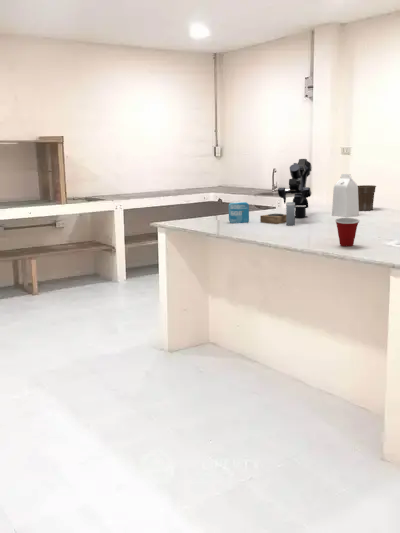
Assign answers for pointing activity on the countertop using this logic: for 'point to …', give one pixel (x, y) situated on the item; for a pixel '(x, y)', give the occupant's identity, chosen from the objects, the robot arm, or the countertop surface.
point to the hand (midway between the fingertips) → (292, 203)
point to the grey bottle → (290, 213)
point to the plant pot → (366, 197)
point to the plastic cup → (346, 230)
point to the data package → (239, 212)
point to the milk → (345, 197)
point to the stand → (273, 218)
